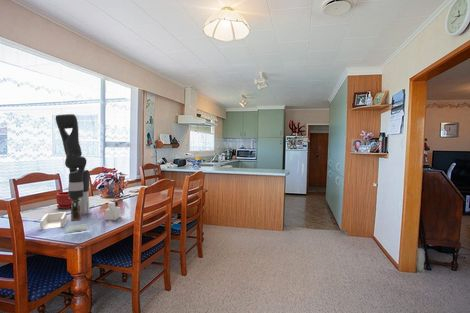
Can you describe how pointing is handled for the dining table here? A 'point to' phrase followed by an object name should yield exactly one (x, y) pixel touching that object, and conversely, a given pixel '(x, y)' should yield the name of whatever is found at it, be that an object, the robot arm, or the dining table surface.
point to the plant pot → (63, 200)
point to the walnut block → (78, 214)
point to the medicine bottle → (112, 211)
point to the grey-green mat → (76, 228)
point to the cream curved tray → (53, 220)
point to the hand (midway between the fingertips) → (76, 216)
